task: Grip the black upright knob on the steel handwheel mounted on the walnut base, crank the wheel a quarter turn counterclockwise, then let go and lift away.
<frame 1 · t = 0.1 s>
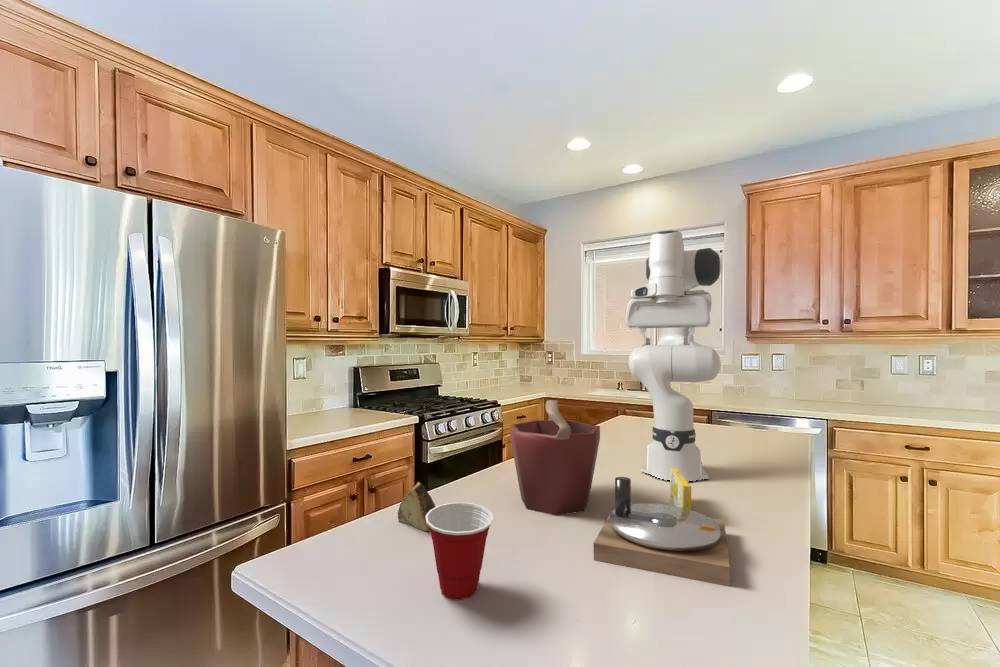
hand: (666, 345, 115), 39 cm above the counter, tool pointing down, fingers open, 8 cm apart
handwheel: (662, 505, 88), point 8 cm above the counter, hinge at 0.0°
candy box: (679, 512, 107), on the counter
walnut base: (663, 546, 88), on the counter
plastic cup: (459, 592, 72), on the counter
bucket: (552, 503, 112), on the counter
rock: (419, 525, 99), on the counter
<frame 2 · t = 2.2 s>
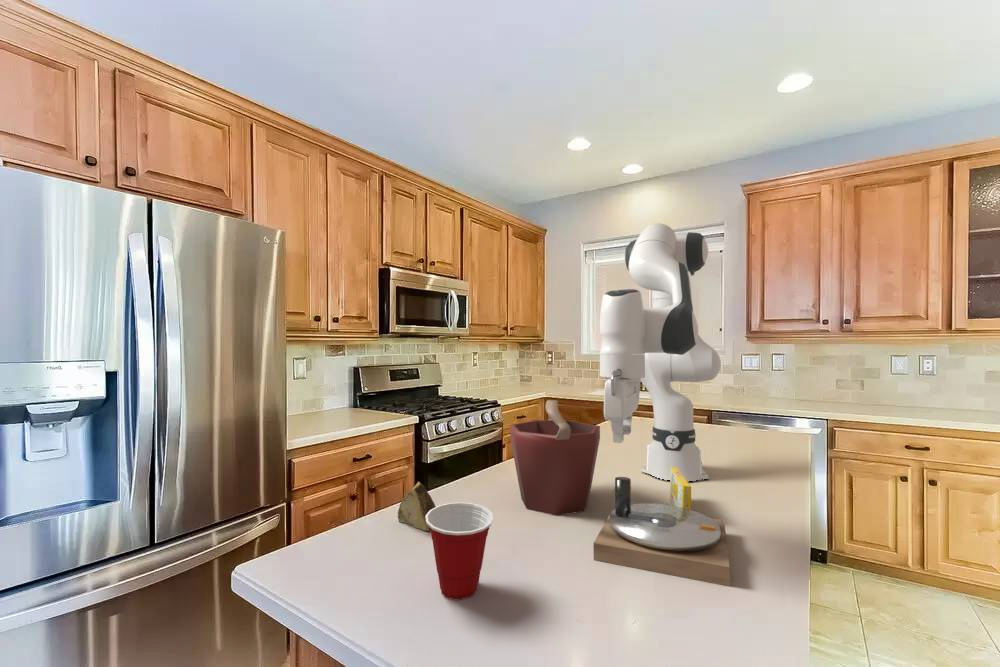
hand: (622, 437, 91), 20 cm above the counter, tool pointing down, fingers open, 8 cm apart
nothing on the counter moved.
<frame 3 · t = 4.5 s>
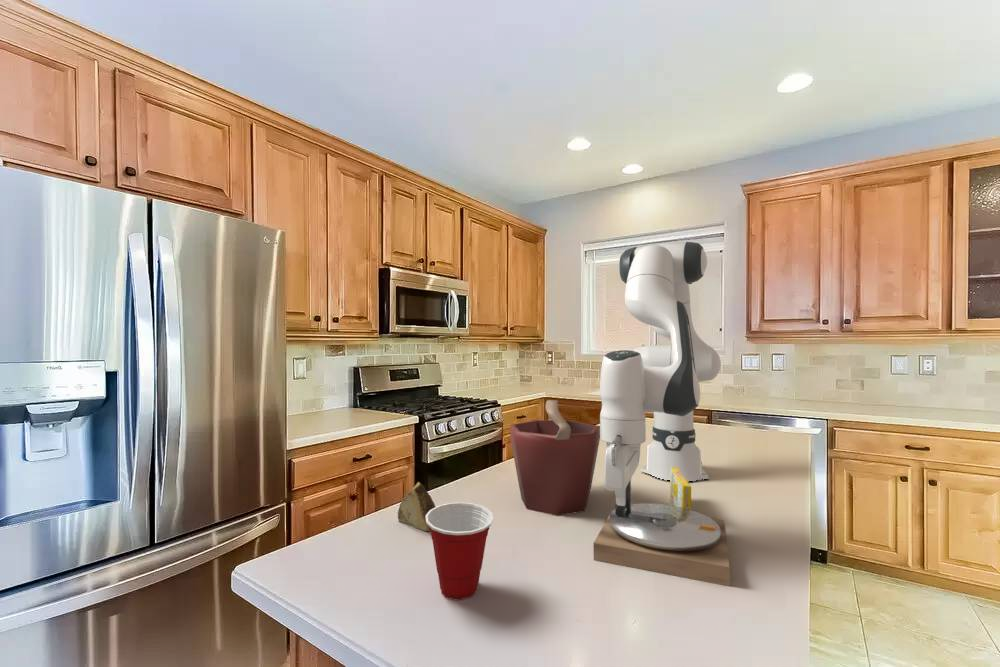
hand: (623, 501, 91), 8 cm above the counter, tool pointing down, fingers closed on handwheel, 3 cm apart
handwheel: (662, 505, 88), point 8 cm above the counter, hinge at 0.0°, touching gripper
everything else where it was.
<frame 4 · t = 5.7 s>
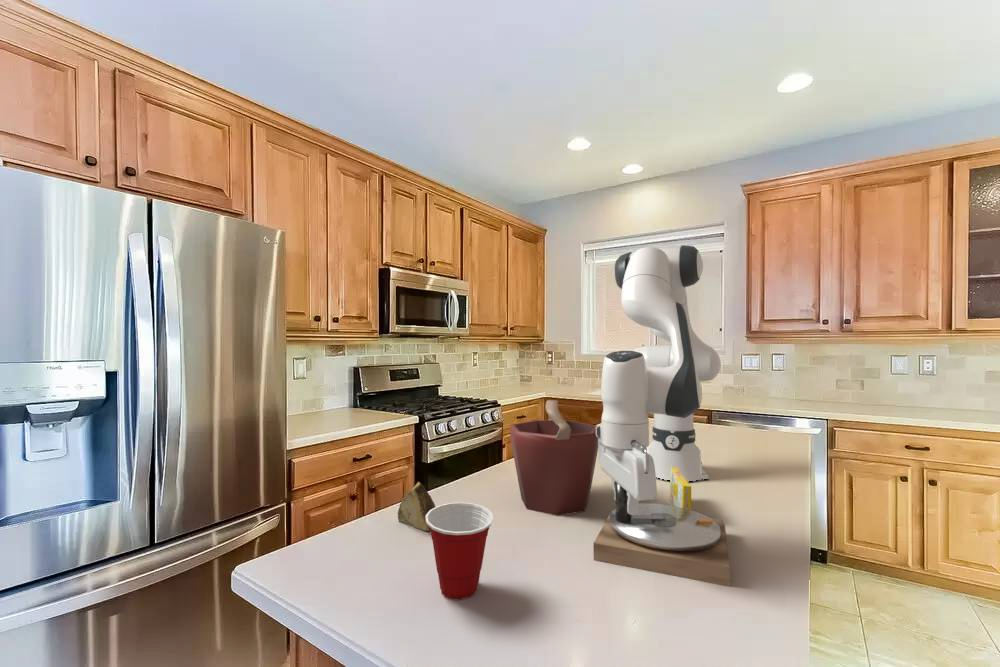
hand: (625, 507, 87), 8 cm above the counter, tool pointing down, fingers open, 4 cm apart
handwheel: (662, 505, 88), point 8 cm above the counter, hinge at 21.8°, touching gripper
everything else where it was.
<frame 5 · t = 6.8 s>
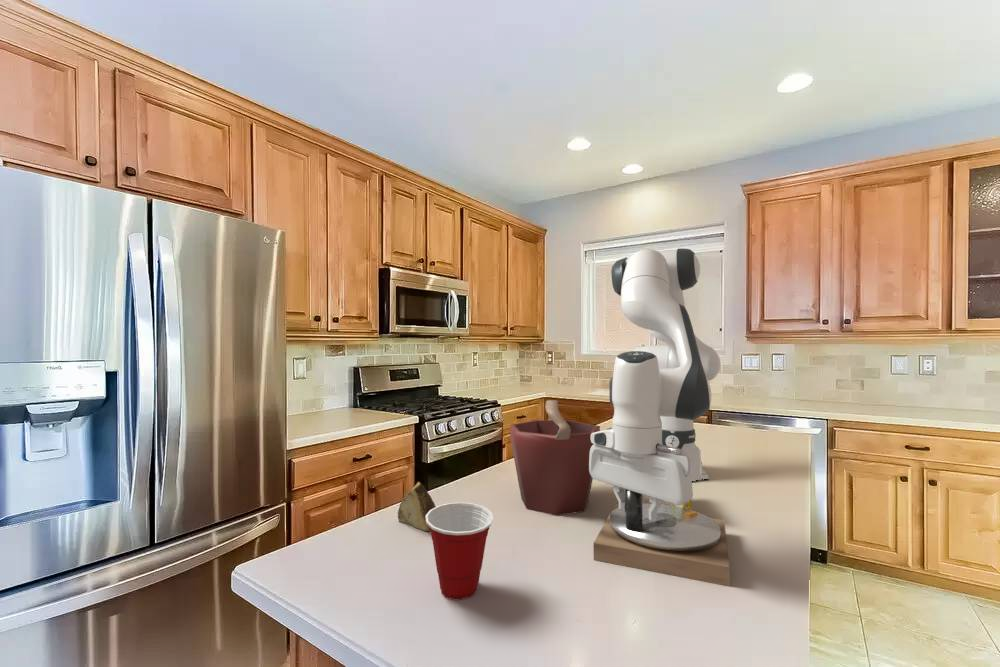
hand: (637, 514, 84), 7 cm above the counter, tool pointing down, fingers open, 4 cm apart
handwheel: (662, 505, 88), point 8 cm above the counter, hinge at 52.5°, touching gripper
everything else where it was.
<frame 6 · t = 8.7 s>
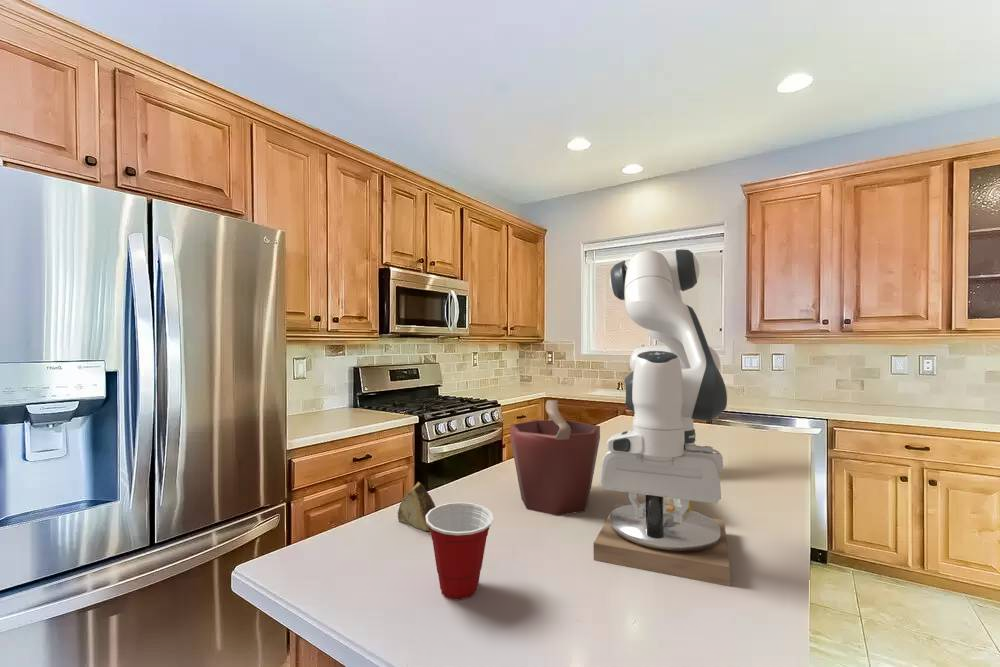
hand: (658, 520, 81), 8 cm above the counter, tool pointing down, fingers open, 5 cm apart
handwheel: (662, 505, 88), point 8 cm above the counter, hinge at 83.9°
everything else where it was.
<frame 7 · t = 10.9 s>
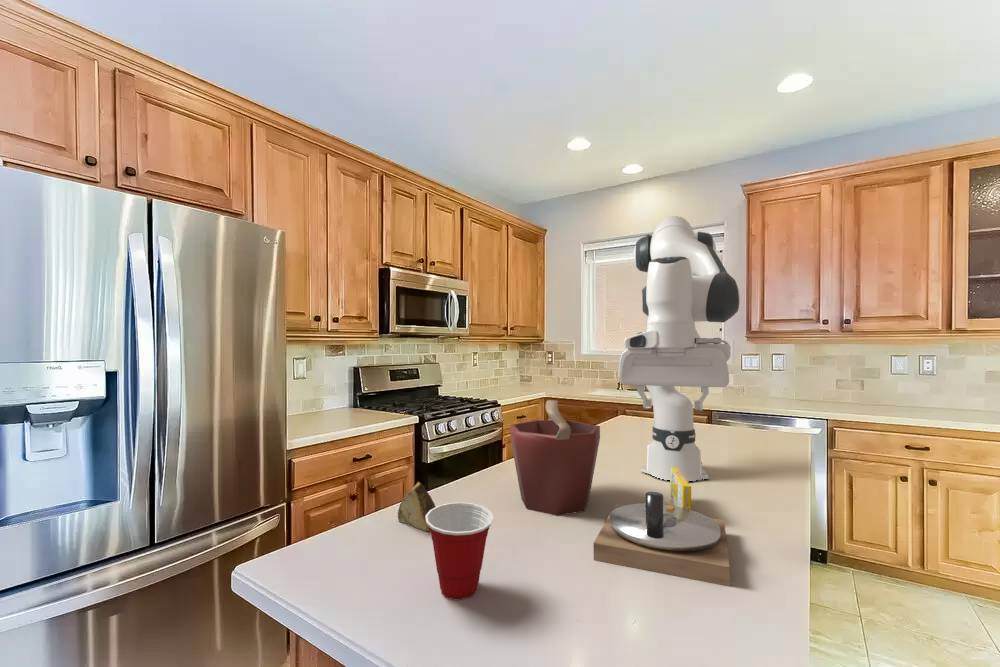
hand: (672, 408, 89), 26 cm above the counter, tool pointing down, fingers open, 8 cm apart
nothing on the counter moved.
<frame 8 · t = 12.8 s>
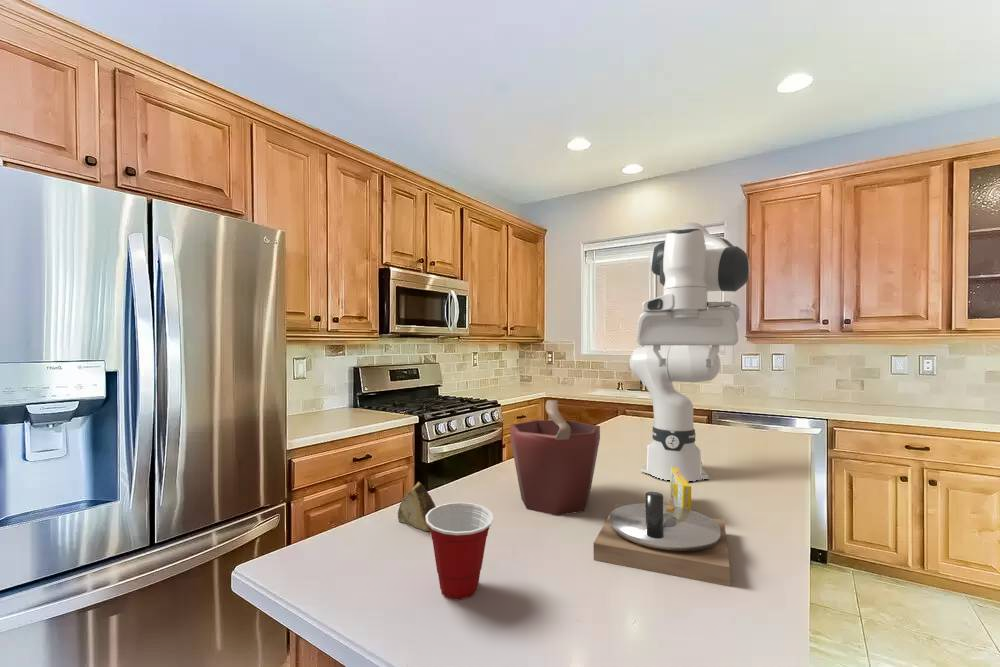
hand: (685, 367, 98), 34 cm above the counter, tool pointing down, fingers open, 8 cm apart
nothing on the counter moved.
at the end: handwheel at +84° (first picture: +0°); the gripper is holding nothing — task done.
